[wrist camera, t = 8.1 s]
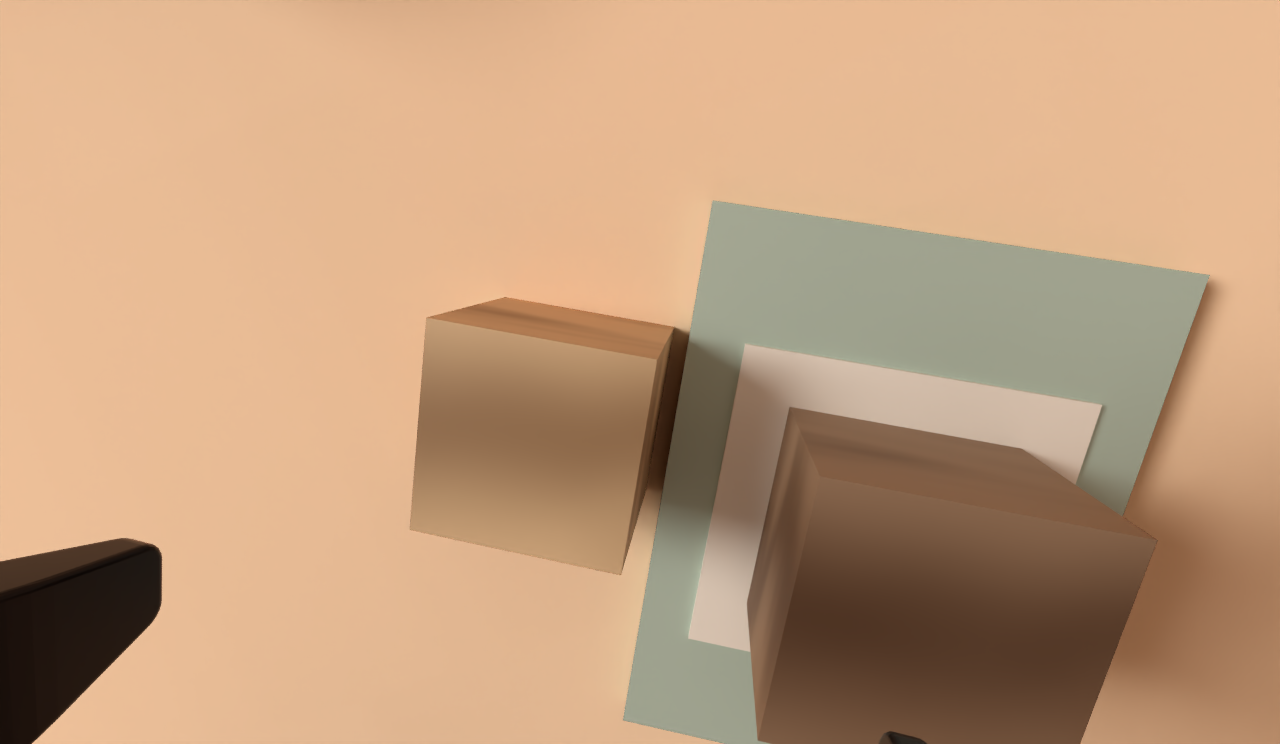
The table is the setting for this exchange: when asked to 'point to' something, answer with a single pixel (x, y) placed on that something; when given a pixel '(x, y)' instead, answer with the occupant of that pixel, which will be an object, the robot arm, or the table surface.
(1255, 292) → the table surface
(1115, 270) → the base board
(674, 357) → the table surface
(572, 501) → the oak cube
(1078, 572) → the walnut block
